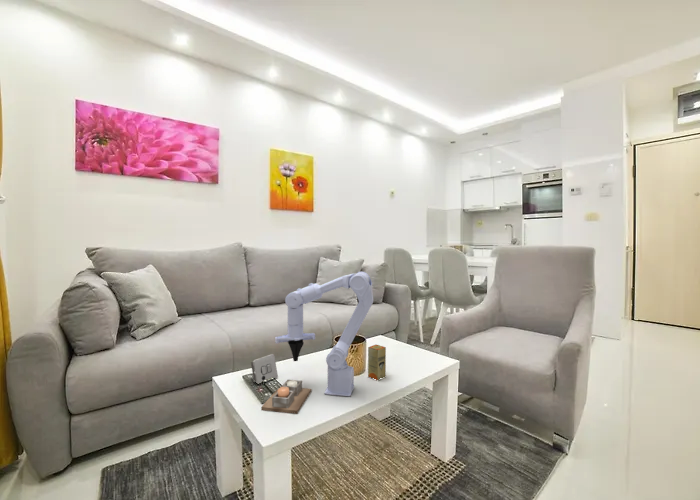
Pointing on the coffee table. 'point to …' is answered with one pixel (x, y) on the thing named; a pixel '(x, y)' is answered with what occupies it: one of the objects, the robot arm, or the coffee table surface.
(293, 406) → the panel
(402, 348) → the coffee table surface
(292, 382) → the plug cream
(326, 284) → the robot arm
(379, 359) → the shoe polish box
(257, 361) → the electrical switch
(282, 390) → the plug terracotta
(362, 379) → the coffee table surface
